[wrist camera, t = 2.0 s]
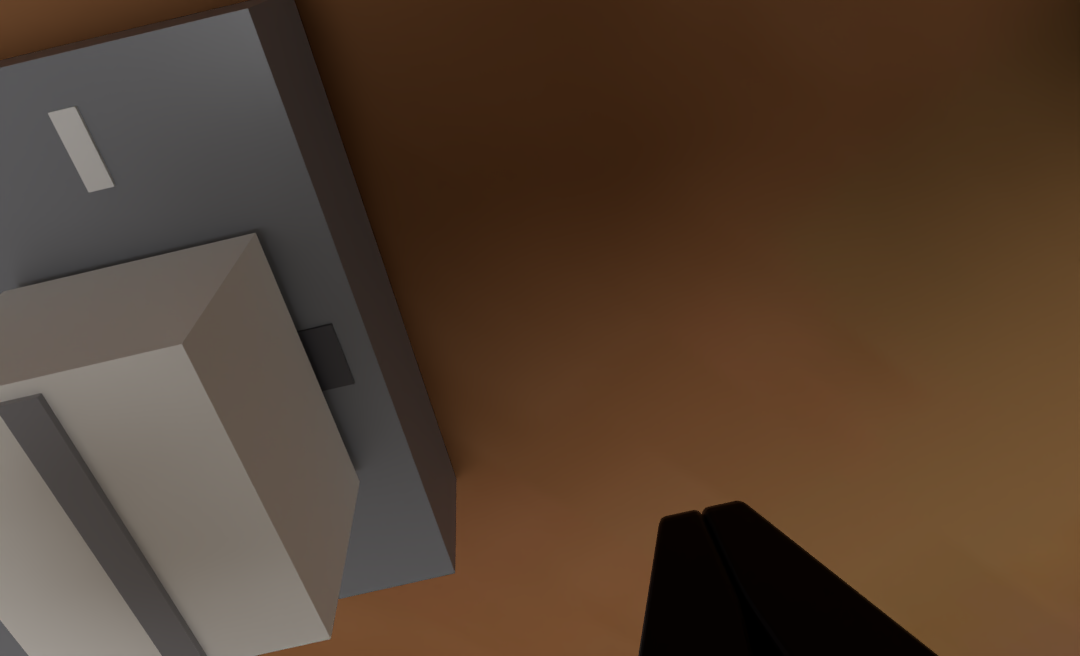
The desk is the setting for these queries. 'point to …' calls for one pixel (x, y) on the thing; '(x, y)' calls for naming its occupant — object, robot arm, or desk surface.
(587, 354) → the desk surface
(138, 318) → the fader knob
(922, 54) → the desk surface
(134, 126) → the fader console
